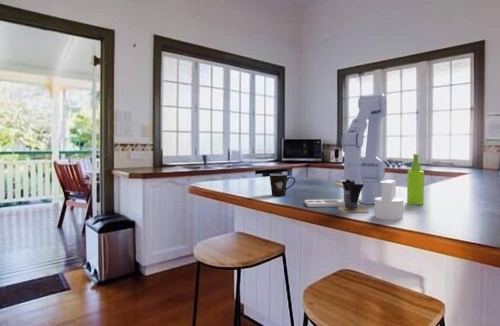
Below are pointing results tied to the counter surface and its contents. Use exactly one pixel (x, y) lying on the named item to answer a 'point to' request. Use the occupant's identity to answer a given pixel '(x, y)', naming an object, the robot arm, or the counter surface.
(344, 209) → the coaster
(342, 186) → the clip
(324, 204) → the power strip
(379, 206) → the base with upright slab
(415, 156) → the soap dispenser
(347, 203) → the plug
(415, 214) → the counter surface
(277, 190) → the coffee mug
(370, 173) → the robot arm
